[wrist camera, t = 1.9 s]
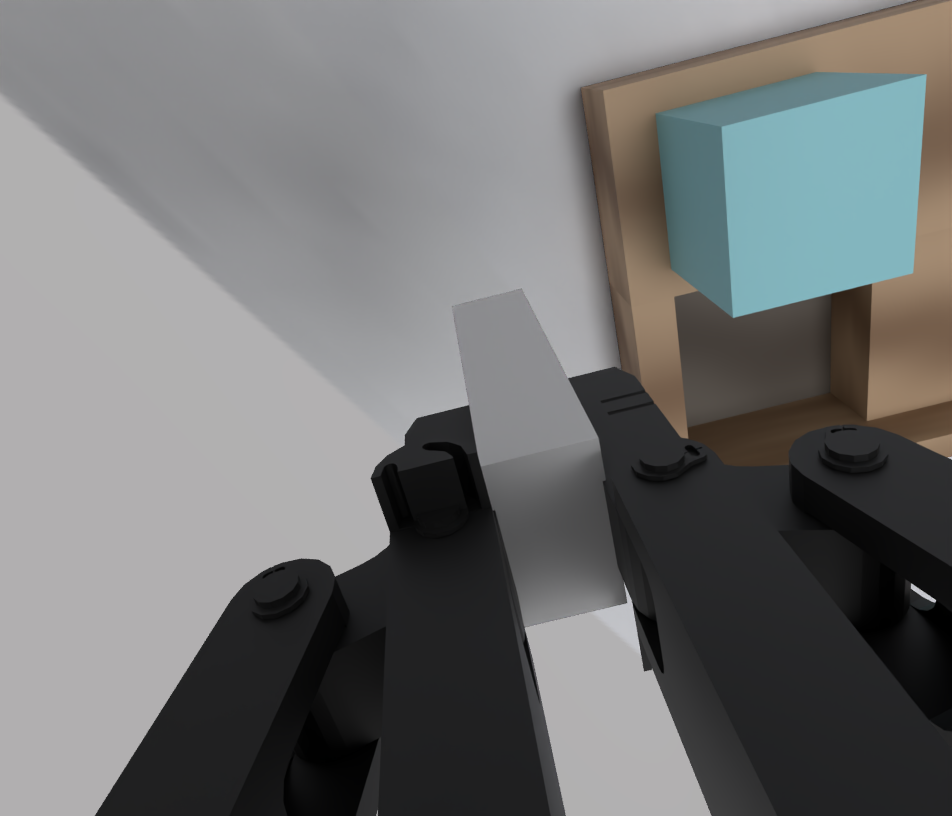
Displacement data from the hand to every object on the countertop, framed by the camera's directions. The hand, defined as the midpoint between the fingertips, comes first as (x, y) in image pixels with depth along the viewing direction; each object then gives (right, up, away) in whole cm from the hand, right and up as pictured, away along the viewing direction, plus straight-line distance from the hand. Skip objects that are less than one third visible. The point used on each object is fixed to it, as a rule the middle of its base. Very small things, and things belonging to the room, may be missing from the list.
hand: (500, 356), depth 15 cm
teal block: (+8, +6, +7) cm, 13 cm away
